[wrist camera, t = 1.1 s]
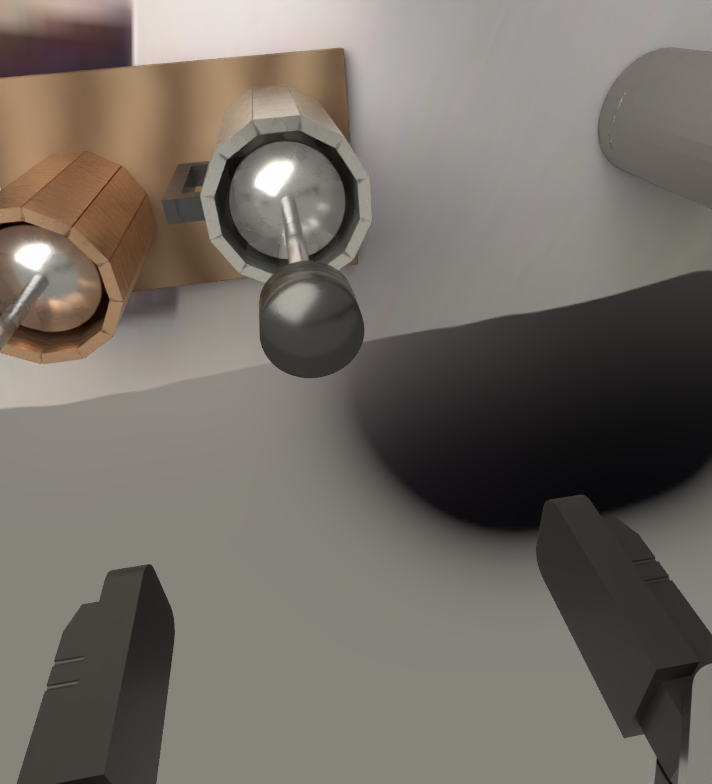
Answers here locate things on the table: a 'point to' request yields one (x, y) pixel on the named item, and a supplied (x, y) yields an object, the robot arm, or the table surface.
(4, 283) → the black knob plunger
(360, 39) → the table surface
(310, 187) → the steel plunger
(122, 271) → the copper carafe
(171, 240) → the board
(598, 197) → the table surface
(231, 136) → the steel carafe
